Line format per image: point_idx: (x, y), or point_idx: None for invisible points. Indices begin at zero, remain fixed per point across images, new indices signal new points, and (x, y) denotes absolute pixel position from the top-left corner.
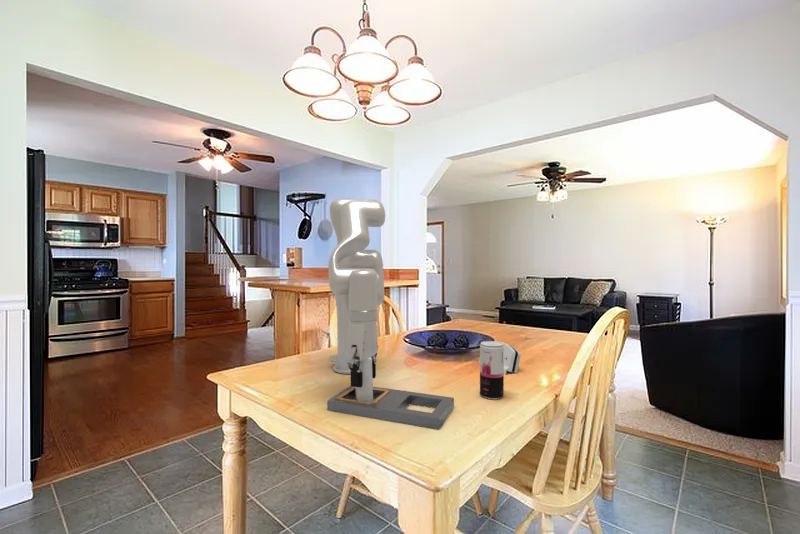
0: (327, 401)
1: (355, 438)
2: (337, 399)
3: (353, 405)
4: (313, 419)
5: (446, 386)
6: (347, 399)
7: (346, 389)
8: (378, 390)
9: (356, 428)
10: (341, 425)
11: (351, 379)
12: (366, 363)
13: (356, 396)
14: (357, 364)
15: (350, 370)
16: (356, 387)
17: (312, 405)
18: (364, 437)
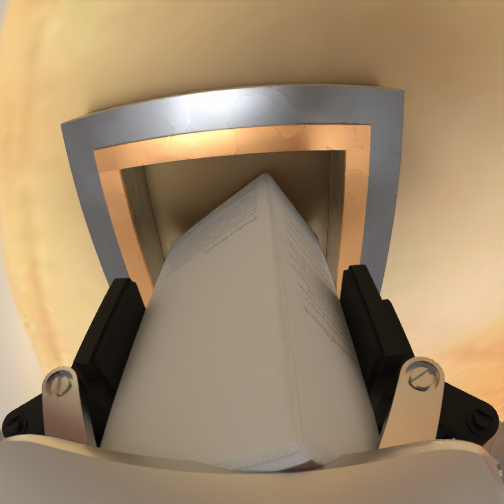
0: (62, 125)
1: (36, 322)
2: (97, 165)
3: (105, 271)
4: (8, 139)
5: (472, 365)
6: (124, 219)
7: (280, 98)
8: (336, 285)
9: (64, 303)
10: (42, 257)
11: (102, 313)
12: None
13: (205, 223)
14: (106, 445)
15: (50, 381)
16: (181, 267)
17: (98, 6)
18: (54, 337)
